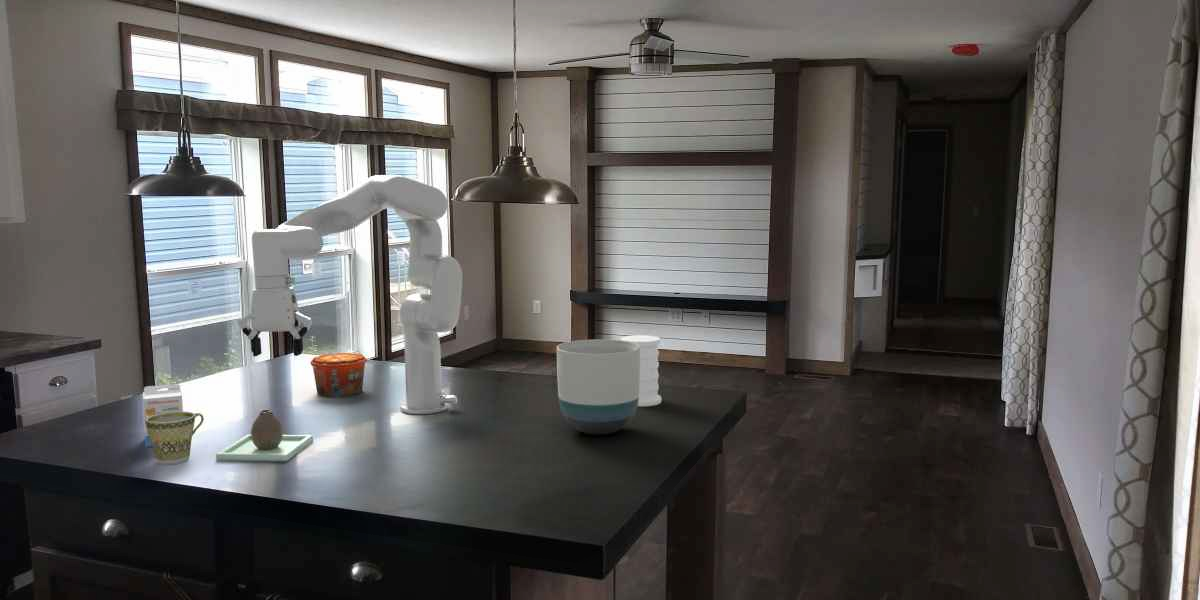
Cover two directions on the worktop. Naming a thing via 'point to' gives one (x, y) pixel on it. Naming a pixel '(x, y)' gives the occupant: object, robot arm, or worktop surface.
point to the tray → (250, 452)
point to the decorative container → (647, 368)
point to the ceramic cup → (172, 436)
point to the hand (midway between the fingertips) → (277, 355)
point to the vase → (266, 431)
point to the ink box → (160, 403)
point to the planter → (598, 384)
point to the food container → (339, 374)
